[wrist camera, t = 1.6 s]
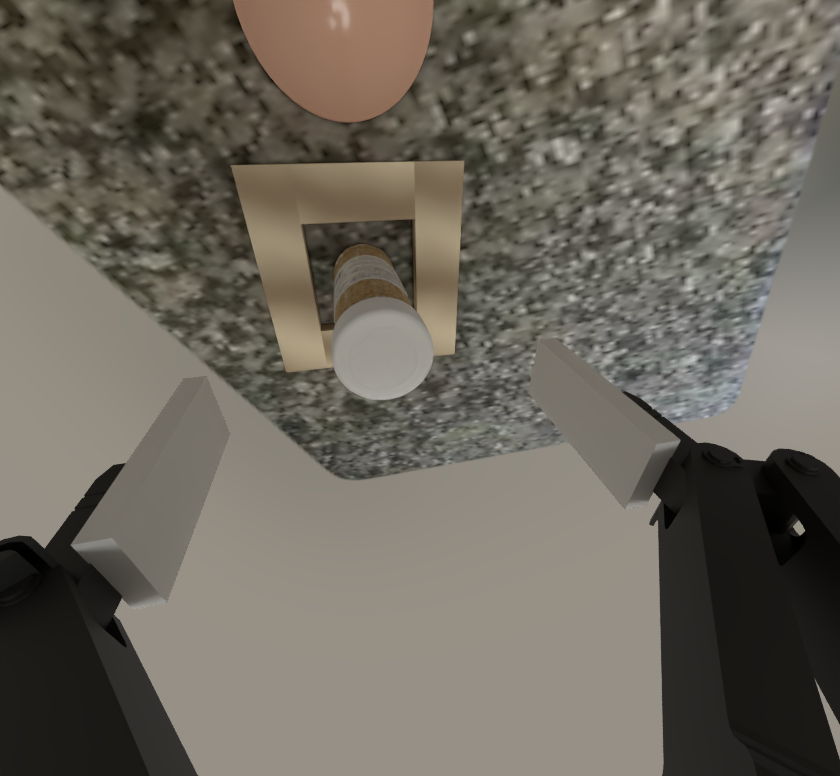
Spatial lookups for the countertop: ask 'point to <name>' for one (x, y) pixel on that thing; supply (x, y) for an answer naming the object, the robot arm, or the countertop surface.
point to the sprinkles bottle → (376, 328)
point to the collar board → (351, 202)
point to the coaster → (339, 51)
